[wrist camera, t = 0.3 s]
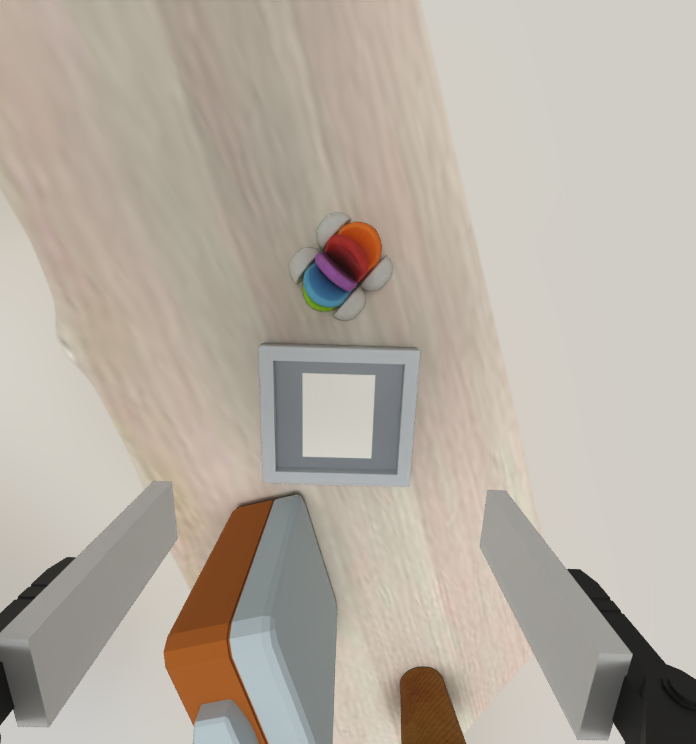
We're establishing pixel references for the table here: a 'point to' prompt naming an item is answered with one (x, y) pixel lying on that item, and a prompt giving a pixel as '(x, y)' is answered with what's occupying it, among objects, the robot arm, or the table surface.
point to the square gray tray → (337, 413)
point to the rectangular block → (259, 633)
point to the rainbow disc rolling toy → (341, 266)
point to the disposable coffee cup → (427, 709)
